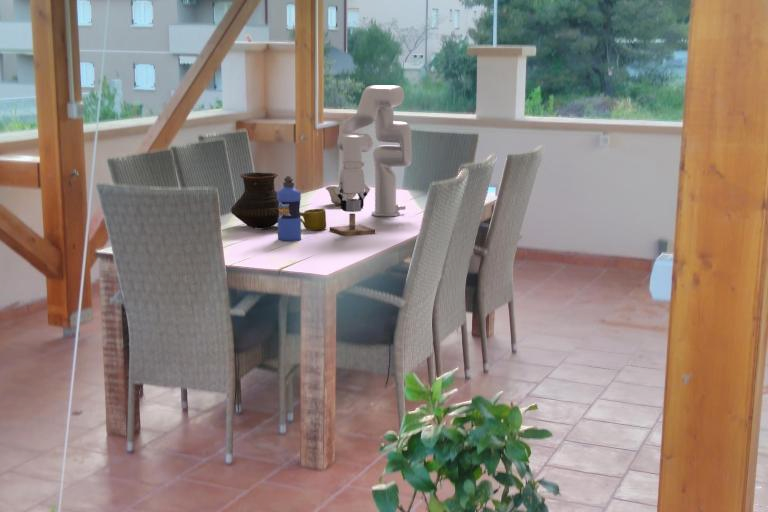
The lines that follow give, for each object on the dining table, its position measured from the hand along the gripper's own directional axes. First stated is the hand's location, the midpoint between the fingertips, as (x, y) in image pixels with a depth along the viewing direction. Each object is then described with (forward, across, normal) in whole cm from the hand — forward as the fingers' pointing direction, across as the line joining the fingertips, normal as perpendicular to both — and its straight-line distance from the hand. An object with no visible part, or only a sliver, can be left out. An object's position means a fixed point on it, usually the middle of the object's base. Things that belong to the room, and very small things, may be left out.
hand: (352, 208), depth 428 cm
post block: (+10, 0, 0) cm, 10 cm away
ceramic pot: (+10, +29, -28) cm, 41 cm away
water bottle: (+10, +30, +4) cm, 32 cm away
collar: (+1, 0, 0) cm, 1 cm away
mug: (+10, +12, -14) cm, 21 cm away
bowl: (+9, -30, -70) cm, 77 cm away
